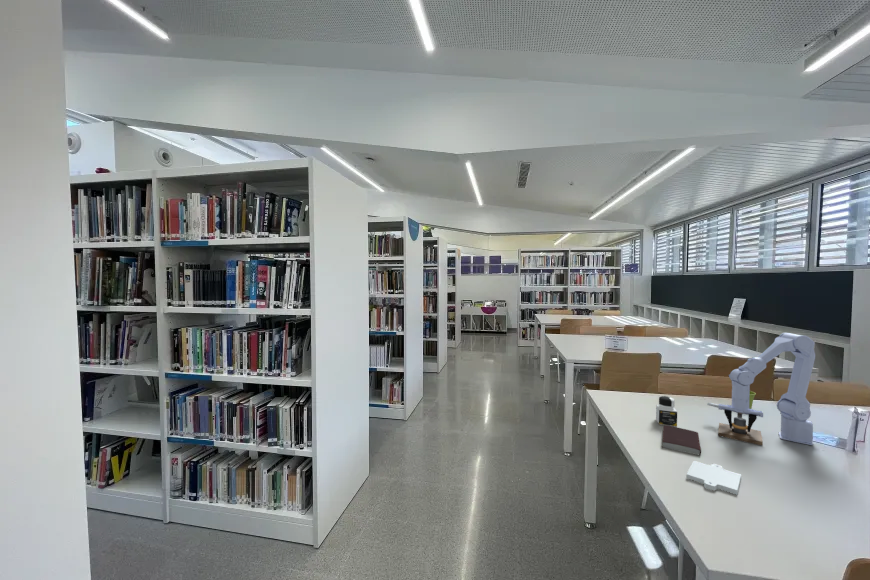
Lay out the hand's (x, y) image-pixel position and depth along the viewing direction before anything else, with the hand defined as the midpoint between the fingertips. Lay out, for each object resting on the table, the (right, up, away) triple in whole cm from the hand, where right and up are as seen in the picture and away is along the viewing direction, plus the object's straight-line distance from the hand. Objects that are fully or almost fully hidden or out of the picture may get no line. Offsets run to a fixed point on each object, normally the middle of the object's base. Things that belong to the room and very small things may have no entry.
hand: (739, 429), depth 154 cm
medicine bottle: (-23, -2, +13) cm, 27 cm away
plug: (0, -2, 0) cm, 2 cm away
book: (-30, -3, -7) cm, 31 cm away
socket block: (0, -2, 0) cm, 2 cm away
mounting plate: (-38, -3, -35) cm, 52 cm away
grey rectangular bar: (+1, +6, +9) cm, 11 cm away
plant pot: (+31, -2, +34) cm, 46 cm away
